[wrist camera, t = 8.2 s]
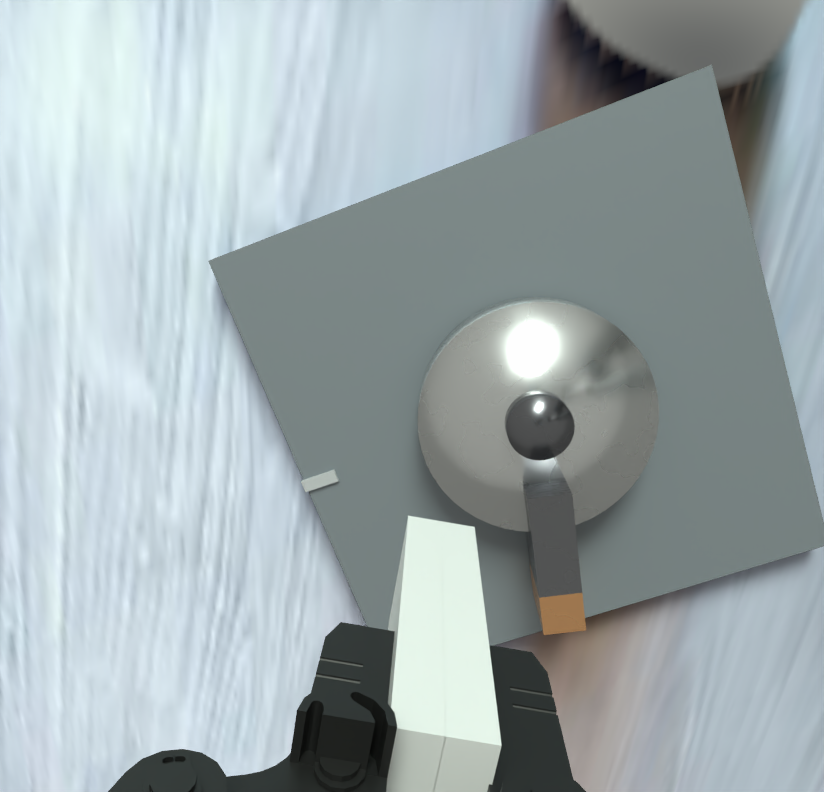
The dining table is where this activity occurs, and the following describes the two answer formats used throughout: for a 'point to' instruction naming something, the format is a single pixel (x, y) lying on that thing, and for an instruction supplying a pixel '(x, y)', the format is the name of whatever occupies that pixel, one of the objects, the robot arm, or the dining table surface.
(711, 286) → the dial board
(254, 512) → the dining table surface
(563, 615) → the dial
